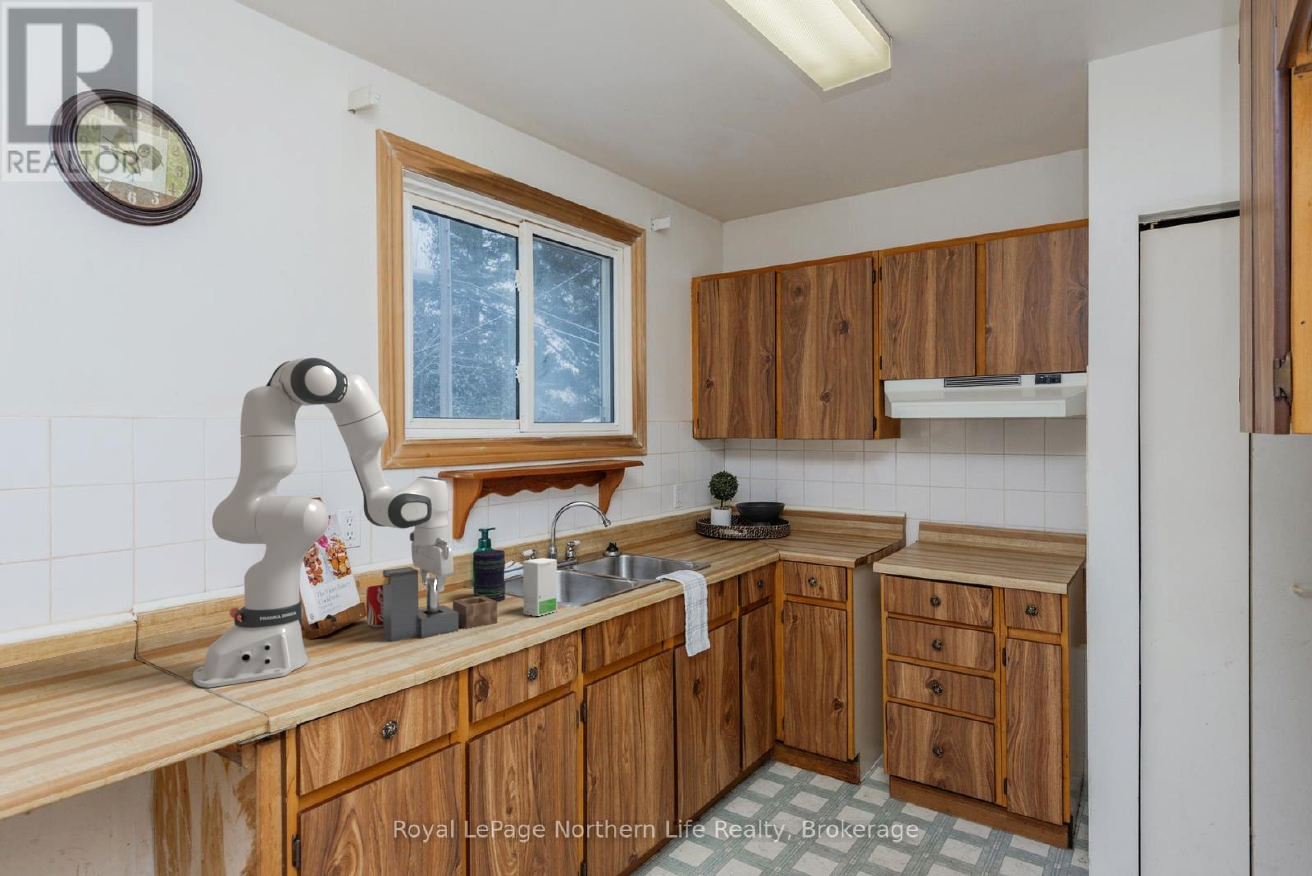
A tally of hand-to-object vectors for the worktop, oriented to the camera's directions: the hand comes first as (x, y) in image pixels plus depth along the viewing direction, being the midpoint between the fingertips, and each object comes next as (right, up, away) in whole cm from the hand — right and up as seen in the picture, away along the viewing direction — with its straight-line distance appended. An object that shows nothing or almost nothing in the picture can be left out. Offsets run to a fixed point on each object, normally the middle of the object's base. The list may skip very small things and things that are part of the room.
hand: (432, 588), depth 188 cm
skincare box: (+26, -11, +17) cm, 33 cm away
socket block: (-3, -11, -2) cm, 12 cm away
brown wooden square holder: (+9, -11, +8) cm, 16 cm away
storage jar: (+7, -11, +34) cm, 37 cm away
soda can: (-16, -12, +6) cm, 21 cm away
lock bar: (-9, +3, -8) cm, 13 cm away
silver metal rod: (0, -11, 0) cm, 11 cm away
